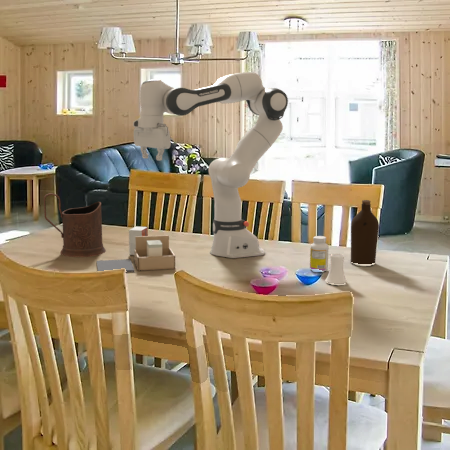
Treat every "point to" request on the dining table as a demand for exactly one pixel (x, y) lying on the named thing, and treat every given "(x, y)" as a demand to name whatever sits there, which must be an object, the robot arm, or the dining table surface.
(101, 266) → the rubber mat
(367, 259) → the olive oil
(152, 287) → the dining table surface
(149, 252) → the cream box
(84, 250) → the brown pitcher
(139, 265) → the carton
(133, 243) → the small box
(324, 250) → the supplement bottle
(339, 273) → the salt shaker
